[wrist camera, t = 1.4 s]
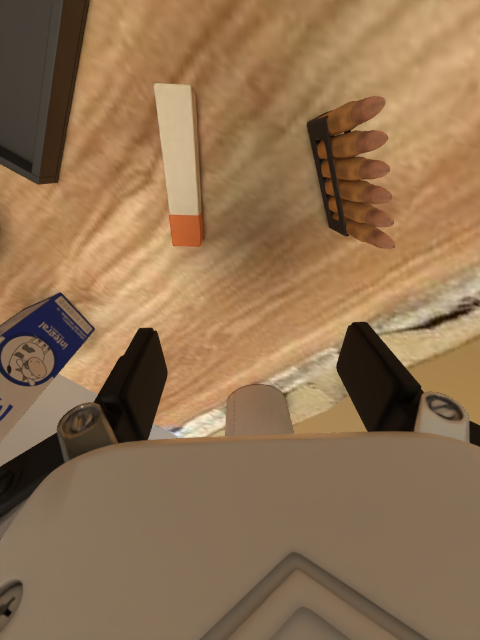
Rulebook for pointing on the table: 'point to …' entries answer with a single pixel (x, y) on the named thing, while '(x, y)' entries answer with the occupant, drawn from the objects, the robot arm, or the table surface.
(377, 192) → the ammunition clip
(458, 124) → the table surface
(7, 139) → the tray
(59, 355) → the milk carton
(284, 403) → the toilet paper roll
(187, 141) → the rectangular block
